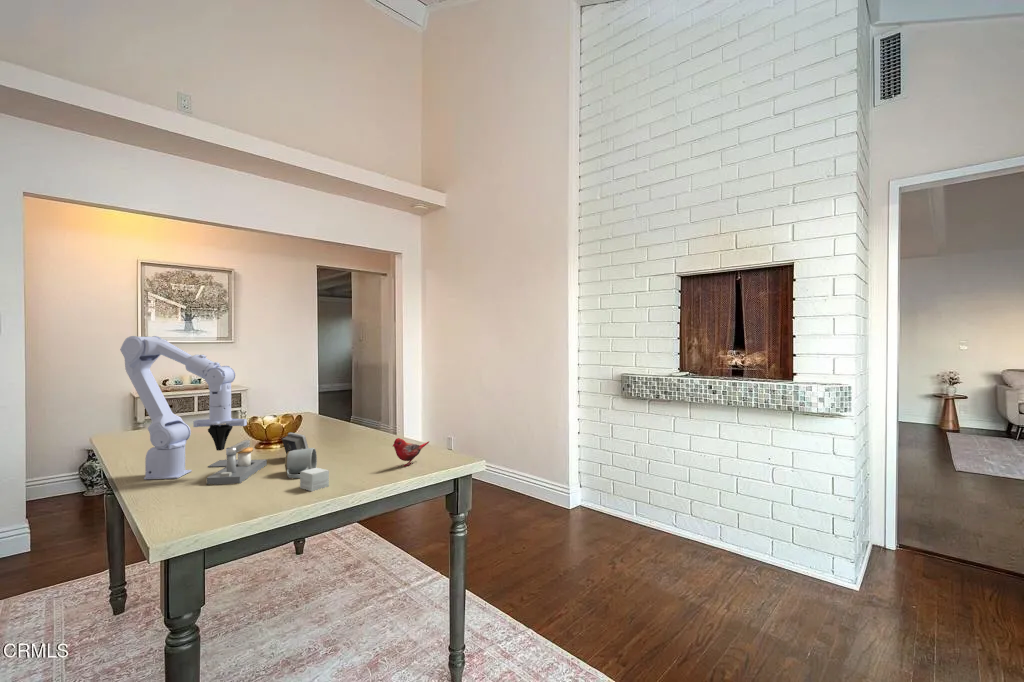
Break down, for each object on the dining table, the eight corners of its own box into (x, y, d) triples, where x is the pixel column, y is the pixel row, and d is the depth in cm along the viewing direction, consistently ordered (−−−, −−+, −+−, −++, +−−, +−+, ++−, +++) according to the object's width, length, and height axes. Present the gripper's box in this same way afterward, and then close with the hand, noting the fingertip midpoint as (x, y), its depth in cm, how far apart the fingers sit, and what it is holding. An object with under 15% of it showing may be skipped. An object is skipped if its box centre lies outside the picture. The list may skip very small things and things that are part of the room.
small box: (329, 486, 135) (329, 469, 135) (311, 492, 130) (311, 474, 130) (317, 483, 138) (317, 466, 138) (299, 488, 133) (299, 471, 133)
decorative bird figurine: (389, 469, 152) (389, 439, 152) (426, 458, 167) (426, 430, 167) (395, 471, 150) (395, 440, 150) (432, 459, 165) (432, 430, 165)
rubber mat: (207, 467, 154) (207, 466, 154) (219, 461, 162) (219, 460, 162) (233, 466, 155) (233, 465, 155) (244, 460, 163) (244, 459, 163)
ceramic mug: (290, 470, 151) (290, 446, 151) (317, 469, 153) (317, 445, 152) (280, 480, 141) (280, 455, 141) (309, 479, 142) (309, 453, 142)
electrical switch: (311, 459, 165) (309, 433, 164) (298, 464, 160) (295, 437, 159) (296, 456, 170) (293, 430, 169) (282, 460, 165) (279, 434, 165)
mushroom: (232, 473, 148) (232, 450, 148) (239, 469, 152) (239, 447, 152) (249, 472, 148) (249, 450, 148) (255, 468, 153) (255, 447, 153)
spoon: (224, 455, 140) (224, 448, 140) (242, 446, 152) (242, 440, 152) (233, 455, 140) (233, 448, 140) (251, 446, 152) (251, 439, 152)
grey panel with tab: (206, 484, 136) (206, 459, 136) (237, 466, 156) (237, 444, 156) (239, 483, 137) (239, 458, 137) (266, 465, 157) (266, 443, 157)
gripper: (187, 407, 140) (187, 453, 140) (239, 407, 142) (239, 452, 142) (200, 404, 147) (200, 448, 147) (249, 403, 149) (249, 446, 149)
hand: (220, 449), depth 145 cm, fingers closed
